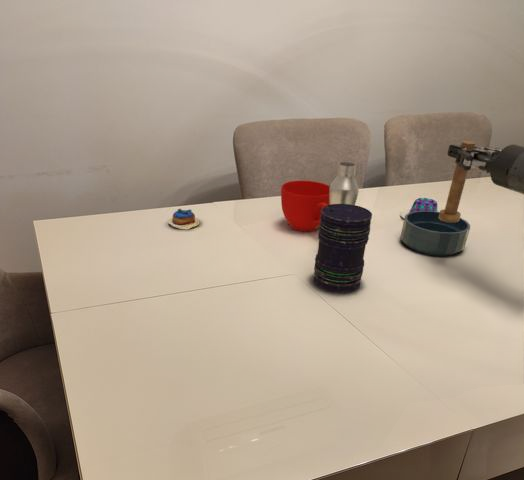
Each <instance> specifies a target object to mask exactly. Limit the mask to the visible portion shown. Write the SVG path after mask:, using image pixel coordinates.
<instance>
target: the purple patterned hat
mask: <svg viewBox="0 0 524 480" xmlns="http://www.w3.org/2000/svg"><path fill="white" fill-rule="evenodd" d="M414 211H437V212H438V202H437V201H436V200H435V199H432V198H428V197H418V198H417V199H415V200H414V201H413V203H412V205H411V207H410V209H405V210H403V211H401V212H400V216H401V217H402V218H403V219H404V218H405V215H406V214H408V213H410V212H414Z"/></svg>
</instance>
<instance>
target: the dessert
mask: <svg viewBox="0 0 524 480" xmlns="http://www.w3.org/2000/svg"><path fill="white" fill-rule="evenodd" d="M168 223H169V225H170V226H171V227H174V228H175V229H179V230H189V229H192V228H195V227H197V226H198V225H199V224H200V221H199V220H198V218H196V215H195V213H194V212H193V211H192V209H186V210H185V209H181V208H178V209H177V210H175V211H174V212H173V214H172V218H170V219H169V220H168Z"/></svg>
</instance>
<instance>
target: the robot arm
mask: <svg viewBox="0 0 524 480" xmlns="http://www.w3.org/2000/svg"><path fill="white" fill-rule="evenodd" d="M469 153H470V154H469ZM447 156H448V157H450V158H453V159H455V161H454V163H455V165H456V164H458V165H459V166H460V167H462V168H463V169H464V170H468V171H471V169H474V170H477V171H479V172H481V173H484V174H489V175H490V179H491V181H492V183H493V184H494V185H496V186H498V187H501V188H504V189H506V190H509V191H511V192H512V191H513V192H515V193H518V194H521V195H524V146H521V145H518V144H513V143H512V144H509V145H507V146H504V147H503V148H497V147H491V146H485V147H484V146H481V145H480V146H475V147H474V149H472V150H471V149H467V148H463V147H461V144H460V145H456V144H450V145H449V146H448V150H447Z"/></svg>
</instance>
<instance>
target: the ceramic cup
mask: <svg viewBox="0 0 524 480" xmlns="http://www.w3.org/2000/svg"><path fill="white" fill-rule="evenodd" d="M329 188H330V185H329V184H326V183H323V182H320V181H315V180H314V181H312V180H291V181H287V182H284V183H283V184H282V185H281V187H280V203H281V209H282V213H283V216H284V218H285V220H286V221H287V223H288V225H289V226H290V227H291V228H292V229H293V230H295V231H298V232H312V231H315V230H317V228H319V223H320V219H321V210H322V208H323V207H324V206H327V205H329Z"/></svg>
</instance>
